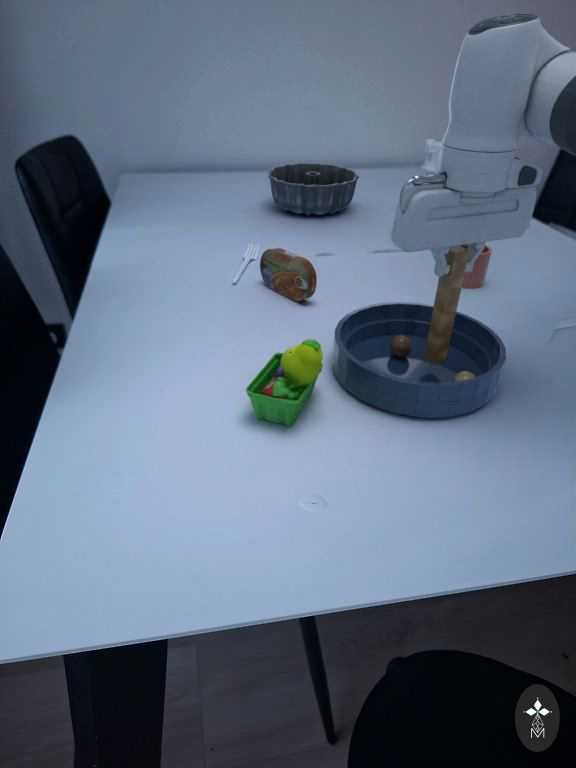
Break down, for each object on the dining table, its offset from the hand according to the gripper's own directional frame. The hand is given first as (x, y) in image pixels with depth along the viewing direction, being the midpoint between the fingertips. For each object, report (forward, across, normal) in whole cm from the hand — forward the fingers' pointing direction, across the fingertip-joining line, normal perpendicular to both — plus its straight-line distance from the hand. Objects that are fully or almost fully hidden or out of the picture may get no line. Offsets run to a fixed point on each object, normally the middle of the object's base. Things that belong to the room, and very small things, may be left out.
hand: (452, 273), depth 75 cm
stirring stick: (+14, 0, 0) cm, 15 cm away
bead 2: (+14, 0, -7) cm, 16 cm away
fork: (+17, -14, +52) cm, 56 cm away
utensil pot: (+17, +27, +27) cm, 42 cm away
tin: (+17, -11, +36) cm, 41 cm away
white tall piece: (+17, +68, +100) cm, 122 cm away
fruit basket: (+17, -25, 0) cm, 30 cm away
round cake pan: (+17, -3, +2) cm, 17 cm away
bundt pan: (+17, +19, +89) cm, 93 cm away
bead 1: (+14, -3, +6) cm, 16 cm away
